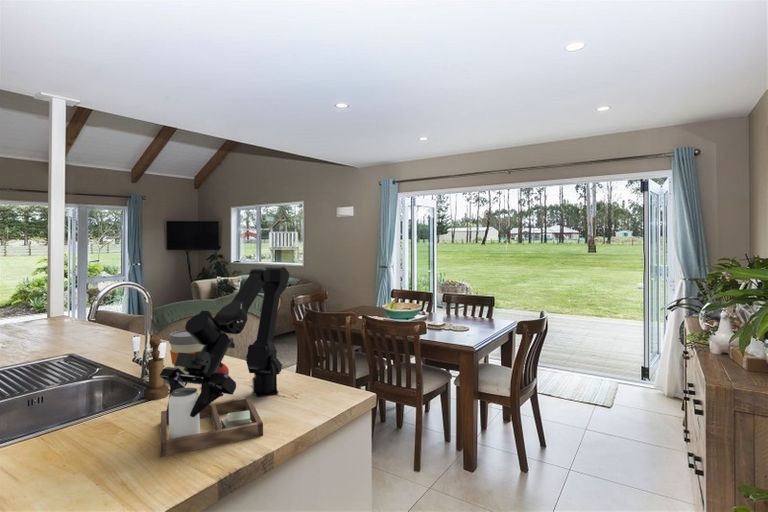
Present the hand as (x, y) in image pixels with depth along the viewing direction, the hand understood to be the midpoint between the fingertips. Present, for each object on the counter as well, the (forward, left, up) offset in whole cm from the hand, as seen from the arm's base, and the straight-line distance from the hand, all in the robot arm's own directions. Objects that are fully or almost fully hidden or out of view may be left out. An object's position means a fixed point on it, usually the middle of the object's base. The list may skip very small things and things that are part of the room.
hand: (179, 414), depth 97 cm
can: (-1, -1, -7) cm, 7 cm away
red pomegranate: (-12, -39, -7) cm, 41 cm away
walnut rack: (-7, -6, -7) cm, 11 cm away
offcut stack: (-13, -1, -7) cm, 15 cm away
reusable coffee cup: (-4, -53, -7) cm, 53 cm away
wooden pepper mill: (+6, -37, -7) cm, 38 cm away
